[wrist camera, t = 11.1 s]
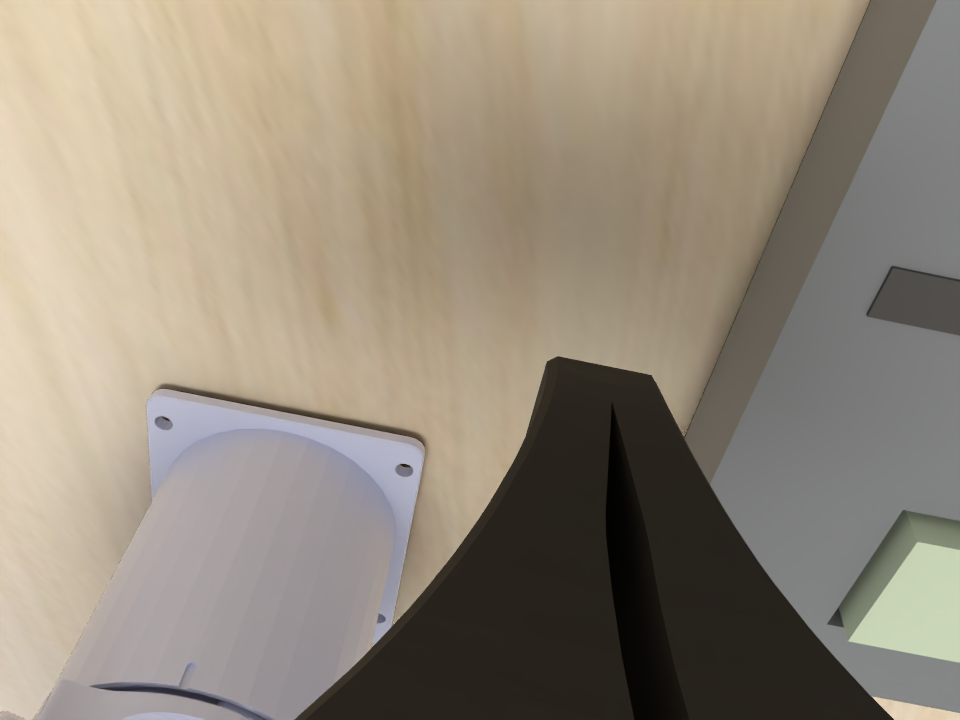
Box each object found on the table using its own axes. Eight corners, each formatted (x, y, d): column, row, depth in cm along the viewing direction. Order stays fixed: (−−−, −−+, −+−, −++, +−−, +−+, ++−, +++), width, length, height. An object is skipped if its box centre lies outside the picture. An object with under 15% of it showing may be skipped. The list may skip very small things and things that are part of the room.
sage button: (956, 580, 27) (992, 669, 24) (824, 554, 27) (847, 641, 24) (1029, 485, 24) (1077, 573, 22) (884, 457, 24) (917, 542, 22)
